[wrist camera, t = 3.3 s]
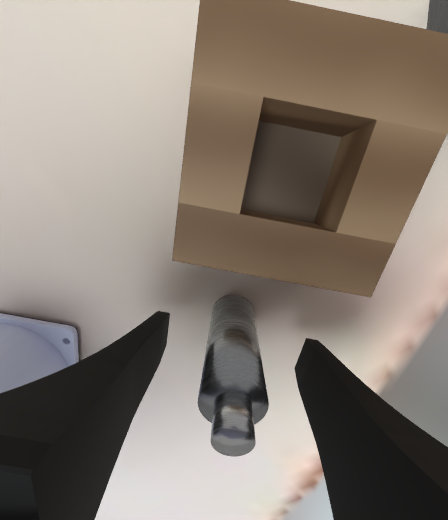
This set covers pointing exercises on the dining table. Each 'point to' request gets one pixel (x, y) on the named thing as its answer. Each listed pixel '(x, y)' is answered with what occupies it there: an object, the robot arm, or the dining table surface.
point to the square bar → (438, 16)
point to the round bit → (233, 377)
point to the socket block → (306, 141)
